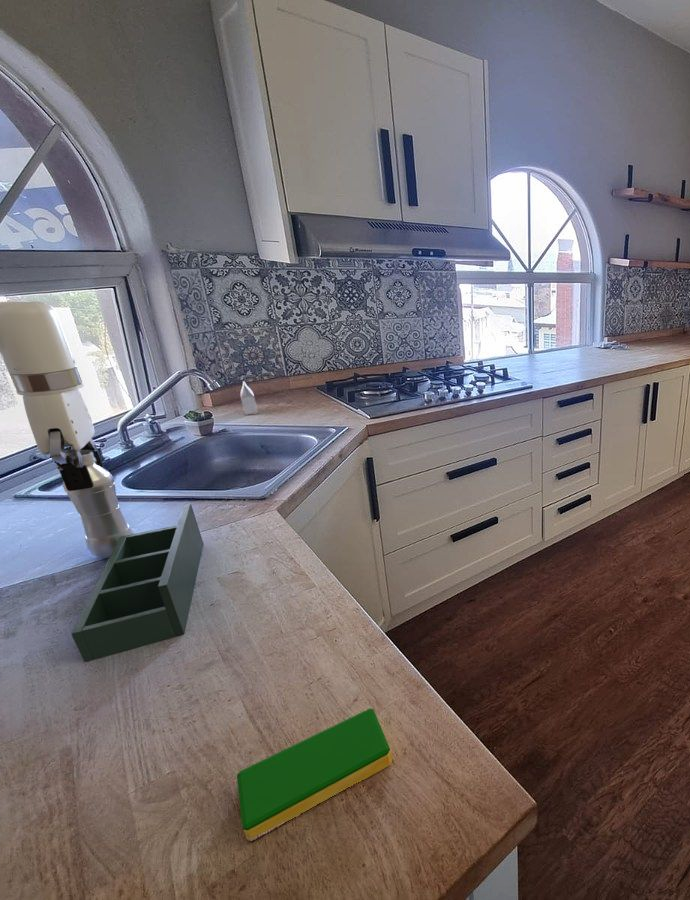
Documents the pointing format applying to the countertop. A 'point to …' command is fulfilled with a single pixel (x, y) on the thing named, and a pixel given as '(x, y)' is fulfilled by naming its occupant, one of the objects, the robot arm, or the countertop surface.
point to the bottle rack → (142, 590)
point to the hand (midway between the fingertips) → (87, 479)
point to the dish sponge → (311, 772)
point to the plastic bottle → (99, 509)
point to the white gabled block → (248, 400)
